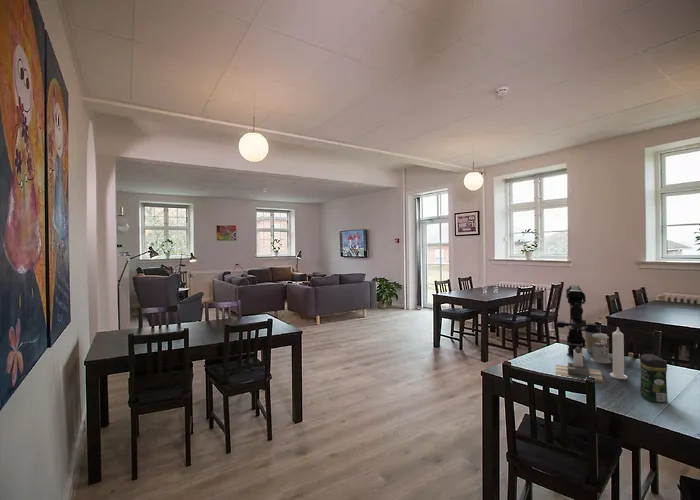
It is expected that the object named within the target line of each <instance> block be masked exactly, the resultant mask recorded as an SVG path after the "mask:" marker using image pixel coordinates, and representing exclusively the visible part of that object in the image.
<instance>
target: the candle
mask: <svg viewBox="0 0 700 500" xmlns="http://www.w3.org/2000/svg"><path fill="white" fill-rule="evenodd" d="M611 335H612V372H610V373H609V377H611V378H613V379H618V380H627V379H628V376H627V375H625V352H624V351H625V350H624V349H625V347H624V346H625V345H624V344H625V340H624V338H625V337H624V336H625V335H624V333H623V332H621V330H620V328H619V326H617V327H616V330H615V331H613V332H612V334H611Z"/></svg>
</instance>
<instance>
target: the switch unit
mask: <svg viewBox="0 0 700 500" xmlns="http://www.w3.org/2000/svg"><path fill="white" fill-rule="evenodd" d="M556 375H561V376H566V377H572V378H577V379H576V380H578V379H586V377H589V376H591V377H594V378H595V380H596V382H595V383H600V384H604V377H603V375H602V371H601V369H600V370H599V369H593V368H589V365H588V364H586V363H583V367H581V366H574V364H573V362H570V361H568V362H567V365H560V364H555V376H556Z"/></svg>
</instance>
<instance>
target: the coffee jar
mask: <svg viewBox="0 0 700 500" xmlns="http://www.w3.org/2000/svg"><path fill="white" fill-rule="evenodd" d="M639 364H640V365H639V366H640V387H639V388H640V390H639V391H640V395H641V396H642V397H643V398H644V399H646V400H647V401H650V402H654V403H659V404H663V403H667V402H668V387H667V370H668V364H667V361H666V360H665V359H663V358H661V357H659V356H657V355H655V354H652V353H651V354H647V353H643V354H642V355H640V359H639Z"/></svg>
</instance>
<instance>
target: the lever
mask: <svg viewBox="0 0 700 500" xmlns="http://www.w3.org/2000/svg"><path fill="white" fill-rule="evenodd" d="M583 356H584V350H583V348H582V349H581V348H579V347H576V348H575V349H574V357H572V358H573V360H572V361H573V362H572V363H573V364H574V366H581V367H583V364H584V357H583Z"/></svg>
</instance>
